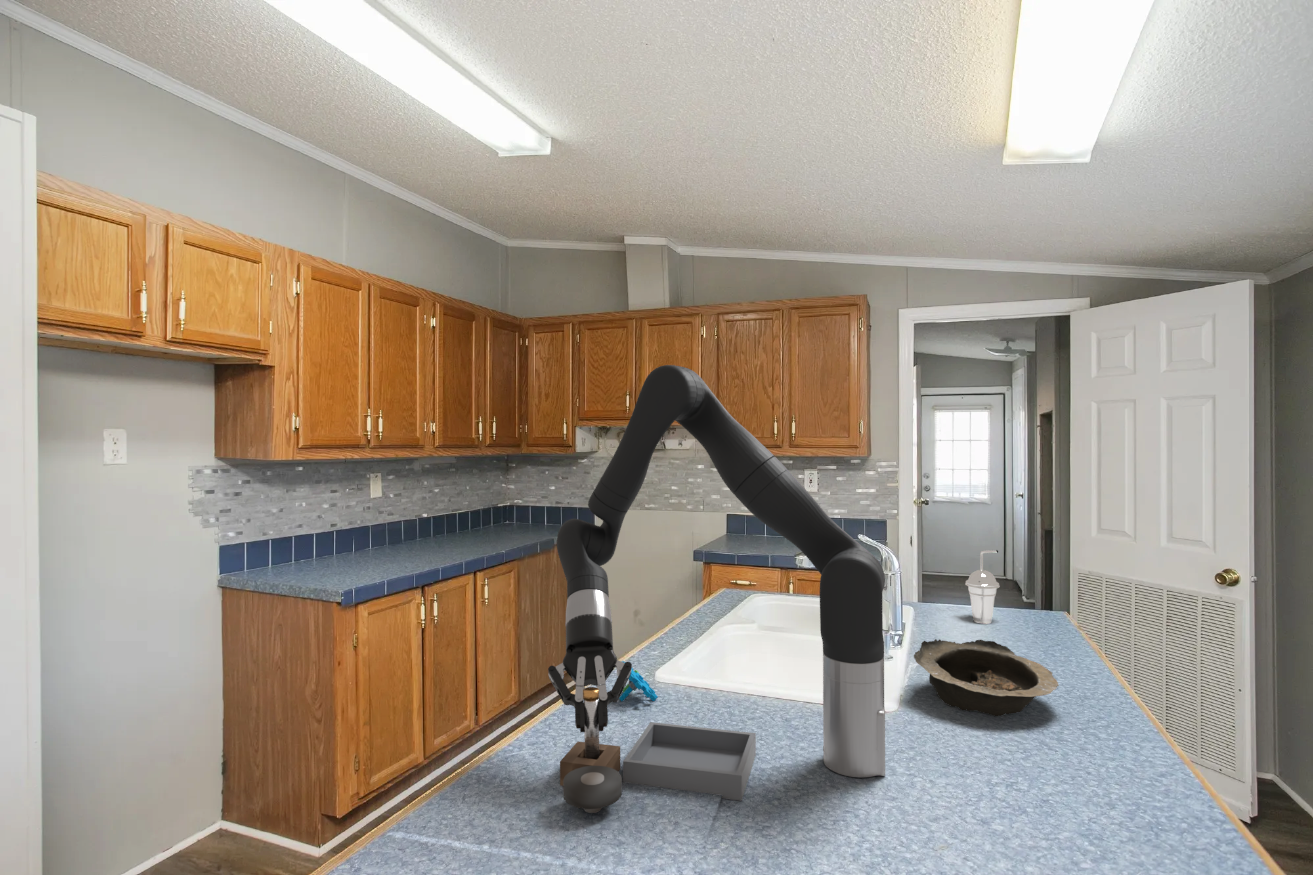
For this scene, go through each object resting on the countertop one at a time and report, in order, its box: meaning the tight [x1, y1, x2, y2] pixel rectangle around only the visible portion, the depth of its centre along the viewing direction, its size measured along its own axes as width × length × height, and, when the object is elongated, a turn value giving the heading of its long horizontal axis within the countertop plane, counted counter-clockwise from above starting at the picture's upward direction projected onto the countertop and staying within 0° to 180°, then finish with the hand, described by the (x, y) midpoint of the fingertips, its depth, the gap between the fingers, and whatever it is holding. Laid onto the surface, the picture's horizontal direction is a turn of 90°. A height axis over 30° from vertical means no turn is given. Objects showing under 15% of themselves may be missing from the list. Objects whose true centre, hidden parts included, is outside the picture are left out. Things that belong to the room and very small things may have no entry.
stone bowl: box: [913, 638, 1060, 717], centre depth 138 cm, size 25×25×9 cm
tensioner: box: [559, 741, 623, 814], centre depth 104 cm, size 11×16×5 cm
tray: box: [622, 721, 757, 802], centre depth 111 cm, size 18×15×4 cm
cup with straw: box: [965, 549, 1001, 625], centre depth 193 cm, size 8×9×20 cm
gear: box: [619, 660, 658, 703], centre depth 140 cm, size 11×6×10 cm
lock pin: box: [583, 686, 600, 759], centre depth 108 cm, size 2×2×10 cm
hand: (592, 729), depth 106 cm, fingers closed on lock pin, 2 cm apart
